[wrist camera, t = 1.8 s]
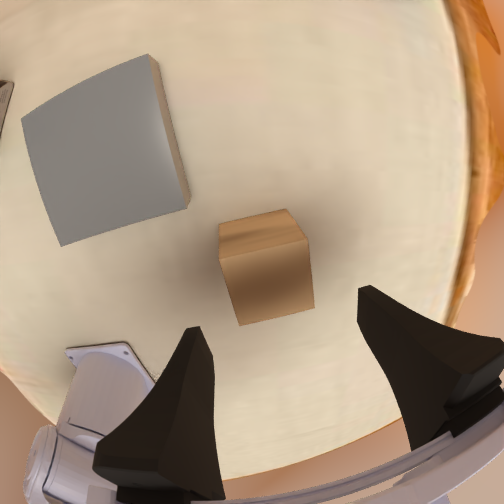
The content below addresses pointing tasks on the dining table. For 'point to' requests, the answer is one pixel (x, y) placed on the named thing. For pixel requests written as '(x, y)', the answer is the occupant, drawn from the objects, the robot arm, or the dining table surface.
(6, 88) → the coffee box
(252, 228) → the oak block
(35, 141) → the slate base
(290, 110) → the dining table surface
